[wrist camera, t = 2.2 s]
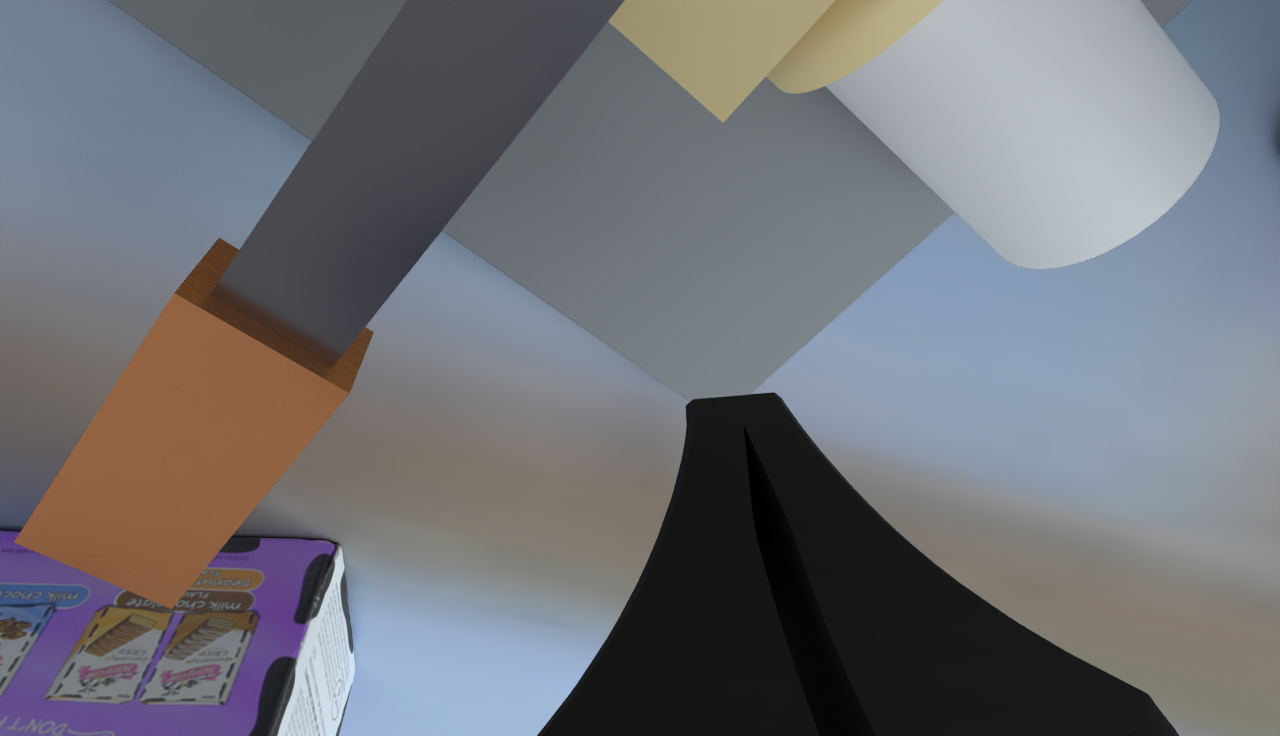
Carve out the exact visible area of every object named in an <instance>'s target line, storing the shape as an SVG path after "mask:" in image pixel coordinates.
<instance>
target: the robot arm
mask: <svg viewBox="0 0 1280 736" xmlns="http://www.w3.org/2000/svg"><path fill="white" fill-rule="evenodd" d="M686 421H687V429H686V438H685V444H684V450H683V455H682V460H681V464H680V468H679V472H678V476H677V480H676V483H675V487H674V491H673V494H672V498H671V501H670V504H669V507H668V509H667V512H666V515H665V518H664V521H663V524H662V526H661V529H660V532H659V535H658V537H657V540H656V542H655V545H654V547H653V550H652V552H651V554H650V557H649V559H648V561H647V564H646V566H645V568H644V570H643V572H642V574H641V576H640V579H639V581H638V583H637V585H636V587H635V589H634V591H633V593H632V594H631V596H630V598H629V600H628V602H627V604H626V606H625V608H624V610H623V611H622V613H621V615H620V617H619V619H618V621H617V622H616V624H615V626H614V628H613V629H612V631H611V633H610V634H609V636H608V638H607V639H606V641H605V642H604V644H603V645H602V647H601V648H600V650H599V651H598V653H597V654H596V656H595V658H594V659H593V661H592V662H591V664H590V665H589V667H588V668H587V670H586V671H585V673H584V674H583V676H582V677H581V679H580V680H579V682H578V683H577V685H576V686H575V687H574V689H573V690H572V692H571V693H570V694H569V696H568V697H567V698H566V700H565V701H564V702H563V703H562V705H561V706H560V707H559V709H558V710H557V711H556V712H555V714H554V715H553V716H552V717H551V719H550V720H549V721H548V723H547V724H546V725H545V726H544V728H543V729H542V730H541V731H540V733H539V734H538V735H537V736H1179V735H1178V733H1177V732H1176V730H1175V729H1174V728H1173V726H1172V725H1171V724H1170V722H1169V721H1168V720H1167V719H1166V717H1165V716H1164V715H1163V713H1162V712H1161V711H1160V710H1159V708H1158V707H1157V706H1156V704H1155V703H1154V702H1153V700H1152V699H1151V697H1150V696H1149V695H1148V694H1147V693H1145V692H1143V691H1141V690H1139V689H1137V688H1135V687H1133V686H1131V685H1130V684H1128V683H1126V682H1124V681H1122V680H1120V679H1118V678H1116V677H1114V676H1112V675H1110V674H1108V673H1106V672H1104V671H1102V670H1100V669H1099V668H1097V667H1095V666H1093V665H1091V664H1089V663H1087V662H1085V661H1083V660H1081V659H1079V658H1077V657H1075V656H1073V655H1072V654H1070V653H1068V652H1066V651H1064V650H1063V649H1061V648H1059V647H1058V646H1056V645H1054V644H1053V643H1051V642H1049V641H1047V640H1046V639H1044V638H1042V637H1041V636H1039V635H1037V634H1036V633H1034V632H1032V631H1031V630H1029V629H1027V628H1026V627H1024V626H1022V625H1021V624H1019V623H1018V622H1016V621H1015V620H1013V619H1011V618H1010V617H1008V616H1007V615H1005V614H1004V613H1002V612H1001V611H999V610H998V609H997V608H995V607H994V606H992V605H991V604H989V603H988V602H986V601H985V600H984V599H982V598H981V597H979V596H978V595H976V594H975V593H973V592H972V591H971V590H969V589H968V588H966V587H965V586H963V585H962V584H960V583H959V582H958V581H956V580H955V579H954V578H953V577H951V576H950V575H949V574H947V573H946V572H945V571H944V570H942V569H941V568H940V567H938V566H937V565H936V564H935V563H933V562H932V561H931V560H930V559H929V558H927V557H926V556H925V555H924V554H923V553H921V552H920V551H919V550H918V549H917V548H915V547H914V546H913V545H912V544H911V543H910V542H909V541H907V540H906V539H905V538H904V537H903V536H902V535H901V534H900V533H898V532H897V531H896V530H895V529H894V528H893V527H892V526H891V525H890V524H889V523H888V522H887V521H886V520H885V519H884V518H883V517H882V516H881V515H880V514H879V513H878V512H877V511H876V510H875V509H874V508H873V507H871V506H870V505H869V504H868V503H867V502H866V501H865V500H864V498H863V497H862V496H861V495H860V494H859V493H858V492H857V491H856V490H855V489H854V488H853V487H852V486H851V485H850V484H849V482H848V481H847V480H846V479H845V478H844V477H843V476H842V475H841V473H840V472H839V471H838V470H837V469H836V468H835V467H834V466H833V465H832V463H831V462H830V461H829V460H828V459H827V458H826V456H825V455H824V454H823V453H822V452H821V450H820V449H819V448H818V447H817V446H816V444H815V443H814V442H813V441H812V439H811V438H810V437H809V436H808V434H807V433H806V432H805V430H804V429H803V428H802V426H801V425H800V424H799V423H798V421H797V420H796V418H795V417H794V416H793V414H792V413H791V412H790V410H789V409H788V407H787V406H786V404H785V403H784V401H783V400H782V398H780V397H779V396H778V395H777V394H776V393H775V392H774V393H762V394H750V395H737V396H725V397H713V398H701V399H693V400H692V401H691V402H690V403H688V404H687V405H686Z"/></svg>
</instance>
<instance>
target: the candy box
mask: <svg viewBox="0 0 1280 736" xmlns="http://www.w3.org/2000/svg"><path fill="white" fill-rule="evenodd" d="M19 533H20V532H16V531H0V736H339V732H340V728H341V725H342V721H343V717H344V713H345V709H346V705H347V702H348V698H349V694H350V690H351V686H352V683H353V679H354V675H355V660H354V646H353V640H352V629H351V624H350V616H349V608H348V600H347V595H348V593H347V583H346V576H345V567H344V562H343V554H342V547H341V546H340V545H337V544H332V543H331V542H329V541H326V540H305V539H291V538H230V539H229V540H228V541H227V542H226V544H225V545H224V546H223V547H222V548H221V550H220V551H219V552H218V553H217V555H216V556H215V557H214V558H213V559H212V561H211V562H210V563H209V564H208V565H207V567H206V568H205V569H204V570H203V572H202V573H201V574H200V575H199V576H198V578H197V579H196V580H195V581H194V582H193V584H192V585H191V586H190V587H189V589H188V590H187V591H186V592H185V593H184V595H183V596H182V597H181V598H180V599H179V601H178V602H177V603H176V604H175V606H174V607H173V608H172V609H170V608H168V607H165V606H163V605H161V604H158V603H156V602H154V601H151V600H149V599H146V598H144V597H142V596H139V595H137V594H135V593H132V592H130V591H127V590H125V589H123V588H120V587H118V586H116V585H113V584H111V583H109V582H106V581H104V580H101V579H99V578H97V577H94V576H92V575H90V574H87V573H85V572H82V571H80V570H78V569H75V568H73V567H71V566H68V565H66V564H64V563H61V562H59V561H56V560H54V559H52V558H49V557H47V556H45V555H42V554H40V553H37V552H35V551H33V550H30V549H28V548H26V547H23V546H21V545H19V544H16V543H14V541H15V540H16V538H17V536H18V535H19Z"/></svg>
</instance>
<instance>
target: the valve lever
mask: <svg viewBox="0 0 1280 736" xmlns="http://www.w3.org/2000/svg"><path fill="white" fill-rule="evenodd" d="M624 1H625V0H407V1H406V2H405V4H404V5H403V7H402V8H401V10H400V11H399V13H398V14H397V16H396V17H395V19H394V20H393V22H392V23H391V25H390V26H389V28H388V29H387V31H386V32H385V34H384V35H383V37H382V38H381V40H380V41H379V43H378V44H377V46H376V47H375V49H374V50H373V52H372V53H371V55H370V56H369V58H368V59H367V61H366V62H365V64H364V65H363V67H362V68H361V70H360V71H359V73H358V74H357V76H356V77H355V79H354V80H353V82H352V83H351V85H350V86H349V88H348V89H347V90H346V92H345V93H344V95H343V96H342V98H341V99H340V101H339V102H338V104H337V105H336V107H335V108H334V110H333V111H332V113H331V114H330V116H329V117H328V119H327V120H326V122H325V123H324V125H323V126H322V128H321V129H320V131H319V132H318V134H317V135H316V137H315V138H314V140H313V141H312V143H311V144H310V146H309V147H308V149H307V150H306V152H305V153H304V155H303V156H302V158H301V159H300V161H299V162H298V164H297V165H296V167H295V168H294V170H293V171H292V173H291V174H290V176H289V177H288V179H287V180H286V182H285V183H284V185H283V186H282V188H281V189H280V191H279V192H278V194H277V195H276V197H275V198H274V199H273V201H272V202H271V204H270V205H269V207H268V208H267V210H266V211H265V213H264V214H263V216H262V217H261V219H260V220H259V222H258V223H257V225H256V226H255V228H254V229H253V231H252V232H251V234H250V235H249V237H248V238H247V240H246V241H245V243H244V244H243V246H242V247H241V249H240V250H238V249H237V248H235V247H233V246H232V245H230V244H228V243H227V242H225V241H224V240H222V239H220V238H219V239H218V240H217V241H216V243H215V244H214V245H213V246H212V247H211V249H210V250H209V251H208V252H207V254H206V255H205V256H204V257H203V258H202V260H201V261H200V262H199V263H198V265H197V266H196V267H195V268H194V269H193V271H192V272H191V273H190V274H189V276H188V277H187V278H186V279H185V281H184V282H183V283H182V284H181V285H180V287H179V288H178V289H177V290H176V292H175V293H174V294H173V296H172V297H171V299H170V300H169V302H168V304H167V305H166V307H165V308H164V310H163V311H162V313H161V314H160V316H159V318H158V319H157V321H156V322H155V324H154V325H153V327H152V328H151V330H150V332H149V333H148V335H147V336H146V338H145V339H144V341H143V342H142V344H141V346H140V347H139V349H138V350H137V352H136V353H135V355H134V356H133V358H132V359H131V361H130V363H129V364H128V366H127V367H126V369H125V370H124V372H123V373H122V375H121V377H120V378H119V380H118V381H117V383H116V384H115V386H114V387H113V389H112V391H111V392H110V394H109V395H108V397H107V398H106V400H105V401H104V403H103V404H102V406H101V408H100V409H99V411H98V412H97V414H96V415H95V417H94V418H93V420H92V422H91V423H90V425H89V426H88V428H87V429H86V431H85V432H84V434H83V436H82V437H81V439H80V440H79V442H78V443H77V445H76V446H75V448H74V450H73V451H72V453H71V454H70V456H69V457H68V459H67V460H66V462H65V463H64V465H63V467H62V468H61V470H60V471H59V473H58V474H57V476H56V477H55V479H54V481H53V482H52V484H51V485H50V487H49V488H48V490H47V491H46V493H45V495H44V496H43V498H42V499H41V501H40V502H39V504H38V505H37V507H36V508H35V510H34V512H33V513H32V515H31V516H30V518H29V519H28V521H27V522H26V524H25V526H24V527H23V529H22V530H21V532H20V533H19V535H18V536H17V538H16V540H15V541H14V543H16V544H19V545H21V546H23V547H26V548H28V549H30V550H33V551H35V552H37V553H40V554H42V555H45V556H47V557H49V558H52V559H54V560H56V561H59V562H61V563H64V564H66V565H68V566H71V567H73V568H75V569H78V570H80V571H82V572H85V573H87V574H90V575H92V576H94V577H97V578H99V579H101V580H104V581H106V582H109V583H111V584H113V585H116V586H118V587H120V588H123V589H125V590H127V591H130V592H132V593H135V594H137V595H139V596H142V597H144V598H146V599H149V600H151V601H154V602H156V603H158V604H161V605H163V606H165V607H168V608H170V609H172V608H173V607H174V606H175V604H176V603H177V602H178V601H179V599H180V598H181V597H182V596H183V595H184V593H185V592H186V591H187V590H188V589H189V587H190V586H191V585H192V584H193V582H194V581H195V580H196V579H197V578H198V576H199V575H200V574H201V573H202V572H203V570H204V569H205V568H206V567H207V565H208V564H209V563H210V562H211V561H212V559H213V558H214V557H215V556H216V555H217V553H218V552H219V551H220V550H221V548H222V547H223V546H224V545H225V544H226V542H227V541H228V540H229V539H230V538H231V536H232V535H233V534H234V533H235V531H236V530H237V529H238V528H239V527H240V525H241V524H242V523H243V522H244V521H245V519H246V518H247V517H248V516H249V514H250V513H251V512H252V511H253V510H254V508H255V507H256V506H257V505H258V504H259V502H260V501H261V500H262V499H263V497H264V496H265V495H266V494H267V493H268V491H269V490H270V489H271V488H272V487H273V485H274V484H275V483H276V482H277V480H278V479H279V478H280V477H281V476H282V474H283V473H284V472H285V471H286V470H287V468H288V467H289V466H290V465H291V463H292V462H293V461H294V460H295V459H296V457H297V456H298V455H299V454H300V453H301V451H302V450H303V449H304V448H305V446H306V445H307V444H308V443H309V442H310V440H311V439H312V438H313V437H314V436H315V434H316V433H317V432H318V431H319V429H320V428H321V427H322V426H323V425H324V423H325V422H326V421H327V420H328V419H329V417H330V416H331V415H332V414H333V412H334V411H335V410H336V409H337V408H338V406H339V405H340V404H341V403H342V402H343V400H344V399H345V398H346V397H347V395H348V394H349V393H350V390H351V388H352V385H353V383H354V380H355V378H356V375H357V373H358V370H359V368H360V365H361V363H362V360H363V358H364V355H365V353H366V350H367V348H368V345H369V343H370V340H371V338H372V335H373V333H374V332H372V331H371V330H369V329H367V328H366V327H365V326H366V325H367V324H368V322H369V321H370V320H371V319H372V317H373V316H374V315H375V314H376V312H377V311H378V310H379V309H380V307H381V306H382V305H383V304H384V302H385V301H386V300H387V299H388V297H389V296H390V295H391V294H392V292H393V291H394V290H395V289H396V287H397V286H398V285H399V284H400V282H401V281H402V280H403V278H404V277H405V276H406V275H407V273H408V272H409V271H410V270H411V268H412V267H413V266H414V265H415V263H416V262H417V261H418V260H419V258H420V257H421V256H422V255H423V253H424V252H425V251H426V250H427V248H428V247H429V246H430V245H431V243H432V242H433V241H434V240H435V238H436V237H437V236H438V235H439V233H440V232H441V231H442V229H443V228H444V227H445V226H446V224H447V223H448V222H449V221H450V219H451V218H452V217H453V216H454V214H455V213H456V212H457V211H458V209H459V208H460V207H461V206H462V204H463V203H464V202H465V201H466V199H467V198H468V197H469V196H470V194H471V193H472V192H473V191H474V189H475V188H476V187H477V186H478V184H479V183H480V182H481V180H482V179H483V178H484V177H485V175H486V174H487V173H488V172H489V170H490V169H491V168H492V167H493V165H494V164H495V163H496V162H497V160H498V159H499V158H500V157H501V155H502V154H503V153H504V152H505V150H506V149H507V148H508V147H509V145H510V144H511V143H512V142H513V140H514V139H515V138H516V136H517V135H518V134H519V133H520V131H521V130H522V129H523V128H524V126H525V125H526V124H527V123H528V121H529V120H530V119H531V118H532V116H533V115H534V114H535V113H536V111H537V110H538V109H539V108H540V106H541V105H542V104H543V103H544V101H545V100H546V99H547V98H548V96H549V95H550V94H551V93H552V91H553V90H554V89H555V87H556V86H557V85H558V84H559V82H560V81H561V80H562V79H563V77H564V76H565V75H566V74H567V72H568V71H569V70H570V69H571V67H572V66H573V65H574V64H575V62H576V61H577V60H578V59H579V57H580V56H581V55H582V54H583V52H584V51H585V50H586V49H587V47H588V46H589V45H590V43H591V42H592V41H593V40H594V38H595V37H596V36H597V35H598V33H599V32H600V31H601V30H602V28H603V27H604V26H605V25H606V23H607V22H608V21H609V20H610V18H611V17H612V16H613V15H614V13H615V12H616V11H617V10H618V8H619V7H620V6H621V5H622V3H623V2H624Z"/></svg>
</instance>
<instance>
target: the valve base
mask: <svg viewBox="0 0 1280 736" xmlns="http://www.w3.org/2000/svg"><path fill="white" fill-rule="evenodd" d="M108 1H110V2H111V3H113V4H114V5H116V6H117V7H118V8H120V9H121V10H123V11H124V12H126V13H127V14H129V15H130V16H132V17H133V18H134V19H136V20H137V21H139V22H140V23H142V24H143V25H145V26H146V27H147V28H149V29H150V30H152V31H153V32H155V33H156V34H158V35H159V36H161V37H162V38H163V39H165V40H166V41H168V42H169V43H171V44H172V45H174V46H175V47H176V48H178V49H179V50H181V51H182V52H184V53H185V54H187V55H188V56H190V57H191V58H192V59H194V60H195V61H197V62H198V63H200V64H201V65H203V66H204V67H205V68H207V69H208V70H210V71H211V72H213V73H214V74H216V75H217V76H219V77H220V78H221V79H223V80H224V81H226V82H227V83H229V84H230V85H232V86H233V87H234V88H236V89H237V90H239V91H240V92H242V93H243V94H245V95H246V96H248V97H249V98H250V99H252V100H253V101H255V102H256V103H258V104H259V105H261V106H262V107H263V108H265V109H266V110H268V111H269V112H271V113H272V114H274V115H275V116H276V117H278V118H279V119H281V120H282V121H284V122H285V123H287V124H288V125H290V126H291V127H292V128H294V129H295V130H297V131H298V132H300V133H301V134H303V135H304V136H305V137H307V138H308V139H310V140H311V141H313V140H314V138H315V137H316V135H317V134H318V132H319V131H320V129H321V128H322V126H323V125H324V123H325V122H326V120H327V119H328V117H329V116H330V114H331V113H332V111H333V110H334V108H335V107H336V105H337V104H338V102H339V101H340V99H341V98H342V96H343V95H344V93H345V92H346V90H347V89H348V88H349V86H350V85H351V83H352V82H353V80H354V79H355V77H356V76H357V74H358V73H359V71H360V70H361V68H362V67H363V65H364V64H365V62H366V61H367V59H368V58H369V56H370V55H371V53H372V52H373V50H374V49H375V47H376V46H377V44H378V43H379V41H380V40H381V38H382V37H383V35H384V34H385V32H386V31H387V29H388V28H389V26H390V25H391V23H392V22H393V20H394V19H395V17H396V16H397V14H398V13H399V11H400V10H401V8H402V7H403V5H404V4H405V2H406V1H407V0H108ZM1191 1H1192V0H625V1H624V2H623V3H622V5H621V6H620V7H619V8H618V10H617V11H616V12H615V13H614V15H613V16H612V17H611V18H610V20H609V21H608V22H607V23H606V25H605V26H604V27H603V28H602V30H601V31H600V32H599V33H598V35H597V36H596V37H595V38H594V40H593V41H592V42H591V43H590V45H589V46H588V47H587V49H586V50H585V51H584V52H583V54H582V55H581V56H580V57H579V59H578V60H577V61H576V62H575V64H574V65H573V66H572V67H571V69H570V70H569V71H568V72H567V74H566V75H565V76H564V77H563V79H562V80H561V81H560V82H559V84H558V85H557V86H556V87H555V89H554V90H553V91H552V93H551V94H550V95H549V96H548V98H547V99H546V100H545V101H544V103H543V104H542V105H541V106H540V108H539V109H538V110H537V111H536V113H535V114H534V115H533V116H532V118H531V119H530V120H529V121H528V123H527V124H526V125H525V126H524V128H523V129H522V130H521V131H520V133H519V134H518V135H517V136H516V138H515V139H514V140H513V142H512V143H511V144H510V145H509V147H508V148H507V149H506V150H505V152H504V153H503V154H502V155H501V157H500V158H499V159H498V160H497V162H496V163H495V164H494V165H493V167H492V168H491V169H490V170H489V172H488V173H487V174H486V175H485V177H484V178H483V179H482V180H481V182H480V183H479V184H478V186H477V187H476V188H475V189H474V191H473V192H472V193H471V194H470V196H469V197H468V198H467V199H466V201H465V202H464V203H463V204H462V206H461V207H460V208H459V209H458V211H457V212H456V213H455V214H454V216H453V217H452V218H451V219H450V221H449V222H448V223H447V224H446V226H445V227H444V228H443V229H442V231H443V232H445V233H446V234H448V235H449V236H450V237H452V238H453V239H455V240H456V241H458V242H459V243H461V244H462V245H463V246H465V247H466V248H468V249H469V250H471V251H472V252H474V253H475V254H477V255H478V256H479V257H481V258H482V259H484V260H485V261H487V262H488V263H490V264H491V265H492V266H494V267H495V268H497V269H498V270H500V271H501V272H503V273H504V274H506V275H507V276H508V277H510V278H511V279H513V280H514V281H516V282H517V283H519V284H520V285H521V286H523V287H524V288H526V289H527V290H529V291H530V292H532V293H533V294H535V295H536V296H537V297H539V298H540V299H542V300H543V301H545V302H546V303H548V304H549V305H550V306H552V307H553V308H555V309H556V310H558V311H559V312H561V313H562V314H564V315H565V316H566V317H568V318H569V319H571V320H572V321H574V322H575V323H577V324H578V325H579V326H581V327H582V328H584V329H585V330H587V331H588V332H590V333H591V334H592V335H594V336H595V337H597V338H598V339H600V340H601V341H603V342H604V343H606V344H607V345H608V346H610V347H611V348H613V349H614V350H616V351H617V352H619V353H620V354H621V355H623V356H624V357H626V358H627V359H629V360H630V361H632V362H633V363H635V364H636V365H637V366H639V367H640V368H642V369H643V370H645V371H646V372H648V373H649V374H650V375H652V376H653V377H655V378H656V379H658V380H659V381H661V382H662V383H664V384H665V385H666V386H668V387H669V388H671V389H672V390H674V391H675V392H677V393H678V394H679V395H681V396H682V397H684V398H685V399H687V400H688V401H690V402H691V401H692V400H693V399H701V398H713V397H725V396H737V395H749V394H750V393H752V392H753V391H754V390H755V389H756V388H757V387H758V386H759V385H761V384H762V383H763V382H764V381H765V380H766V379H767V378H768V377H770V376H771V375H772V374H773V373H774V372H775V371H776V370H777V369H779V368H780V367H781V366H782V365H783V364H784V363H785V362H786V361H788V360H789V359H790V358H791V357H792V356H793V355H794V354H795V353H797V352H798V351H799V350H800V349H801V348H802V347H803V346H804V345H806V344H807V343H808V342H809V341H810V340H811V339H812V338H813V337H815V336H816V335H817V334H818V333H819V332H820V331H821V330H822V329H823V328H825V327H826V326H827V325H828V324H829V323H830V322H831V321H832V320H834V319H835V318H836V317H837V316H838V315H839V314H840V313H841V312H843V311H844V310H845V309H846V308H847V307H848V306H849V305H850V304H852V303H853V302H854V301H855V300H856V299H857V298H858V297H859V296H861V295H862V294H863V293H864V292H865V291H866V290H867V289H868V288H870V287H871V286H872V285H873V284H874V283H875V282H876V281H877V280H879V279H880V278H881V277H882V276H883V275H884V274H885V273H886V272H888V271H889V270H890V269H891V268H892V267H893V266H894V265H895V264H897V263H898V262H899V261H900V260H901V259H902V258H903V257H904V256H906V255H907V254H908V253H909V252H910V251H911V250H912V249H913V248H915V247H916V246H917V245H918V244H919V243H920V242H921V241H922V240H924V239H925V238H926V237H927V236H928V235H929V234H930V233H931V232H933V231H934V230H935V229H936V228H937V227H938V226H939V225H940V224H942V223H943V222H944V221H945V220H946V219H947V218H948V217H949V216H950V215H952V214H953V213H954V212H955V213H956V214H957V215H958V216H959V217H960V218H962V219H963V220H964V221H965V222H966V223H967V224H968V225H969V226H970V227H971V228H972V229H973V230H974V231H975V232H976V233H977V234H978V235H979V236H980V237H981V238H982V239H983V240H984V241H985V242H986V243H987V244H988V245H989V246H990V247H991V248H992V249H993V250H995V251H996V252H997V253H998V254H999V255H1000V256H1001V257H1002V258H1003V259H1004V260H1006V261H1008V262H1009V263H1011V264H1014V265H1017V266H1019V267H1024V268H1030V269H1050V268H1059V267H1064V266H1068V265H1073V264H1076V263H1079V262H1082V261H1085V260H1088V259H1091V258H1093V257H1096V256H1098V255H1101V254H1103V253H1105V252H1107V251H1109V250H1111V249H1113V248H1115V247H1117V246H1119V245H1121V244H1123V243H1124V242H1126V241H1127V240H1129V239H1131V238H1132V237H1134V236H1135V235H1137V234H1139V233H1140V232H1141V231H1143V230H1144V229H1146V228H1147V227H1148V226H1150V225H1151V224H1152V223H1154V222H1155V221H1156V220H1157V219H1158V218H1160V217H1161V216H1162V215H1163V214H1164V213H1165V212H1167V211H1168V210H1169V209H1170V208H1171V207H1172V206H1173V205H1174V204H1175V203H1176V202H1177V201H1178V200H1179V199H1180V198H1181V197H1182V196H1183V195H1184V193H1185V192H1186V191H1187V190H1188V189H1189V188H1190V186H1191V185H1192V184H1193V183H1194V181H1195V180H1196V179H1197V177H1198V176H1199V174H1200V173H1201V171H1202V170H1203V168H1204V167H1205V165H1206V163H1207V161H1208V159H1209V157H1210V156H1211V154H1212V151H1213V148H1214V146H1215V143H1216V141H1217V136H1218V132H1219V126H1220V114H1219V109H1218V105H1217V103H1216V101H1215V99H1214V97H1213V95H1212V94H1211V92H1210V91H1209V90H1208V89H1207V87H1206V86H1205V85H1204V83H1203V82H1202V81H1201V79H1200V78H1199V77H1198V75H1197V74H1196V73H1195V71H1194V70H1193V69H1192V68H1191V66H1190V65H1189V64H1188V62H1187V61H1186V60H1185V58H1184V57H1183V56H1182V54H1181V53H1180V52H1179V50H1178V49H1177V48H1176V47H1175V45H1174V44H1173V43H1172V41H1171V40H1170V39H1169V37H1168V36H1167V35H1166V33H1165V32H1164V31H1163V29H1162V27H1163V26H1164V25H1165V24H1166V23H1167V22H1169V21H1170V20H1171V19H1172V18H1173V17H1174V16H1175V15H1176V14H1178V13H1179V12H1180V11H1181V10H1182V9H1183V8H1184V7H1185V6H1187V5H1188V4H1189V3H1190V2H1191Z"/></svg>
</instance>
